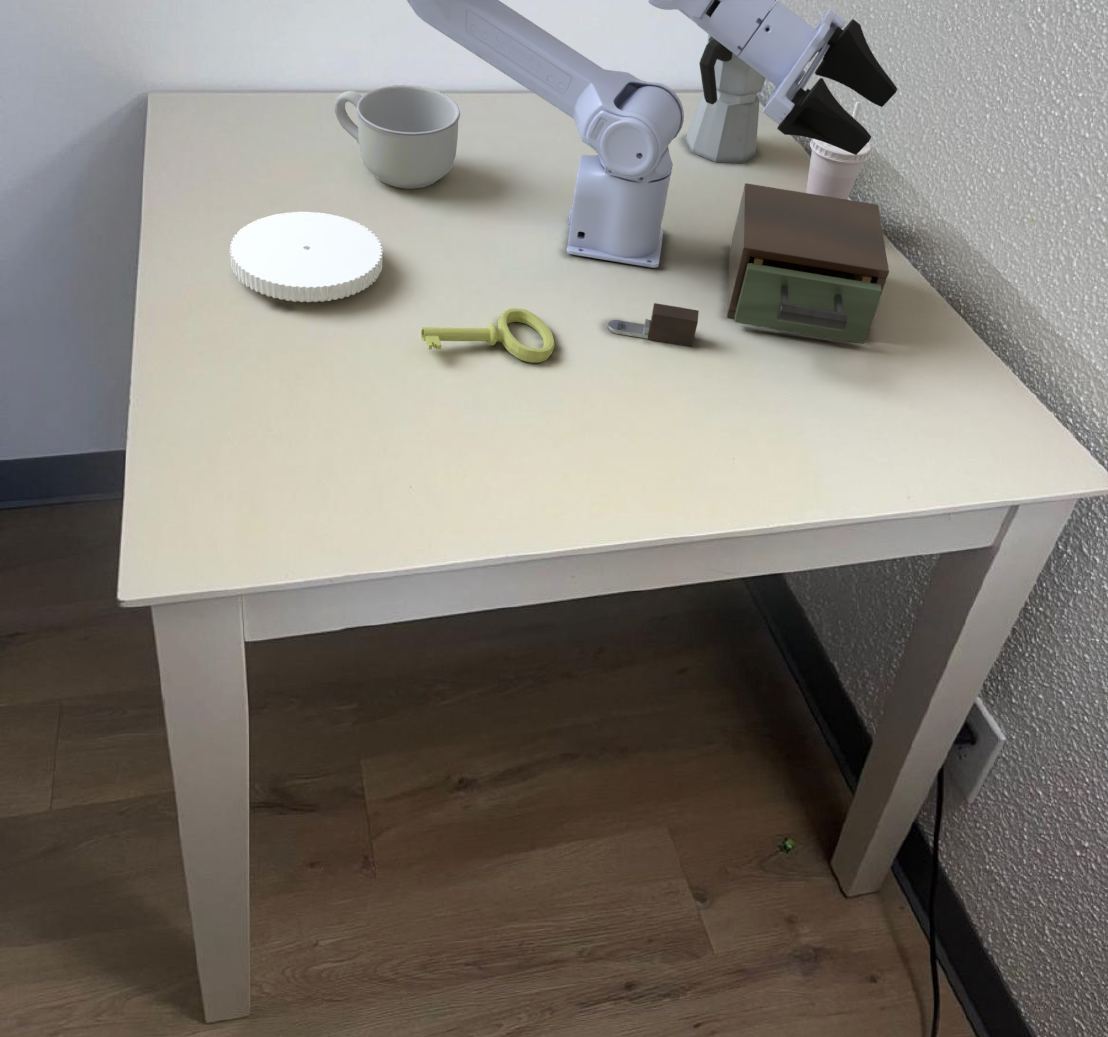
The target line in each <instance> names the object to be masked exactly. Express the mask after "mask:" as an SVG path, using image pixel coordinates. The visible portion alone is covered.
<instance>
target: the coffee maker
mask: <svg viewBox="0 0 1108 1037" xmlns="http://www.w3.org/2000/svg"><path fill="white" fill-rule="evenodd" d="M744 47H745V46H744ZM744 47H743V48H744ZM743 48H742V50H743ZM742 50H741V51H742ZM741 51H740V52H741ZM739 54H740V53H739ZM739 54H738V55H739ZM738 55H737V56H736V55H735V54H734V53H732V52H731V51H730V50H728V49H727V48H726V47H725V46H723V45H722V44H721V43H719V42H718V41H717V40H716V39H714V38H713V37H712V36H710V35H709V34H708V33H707V44H706V45H705V47H704V50H703V52H702V55H701V58H700V60H699V63H698V64H699V70H700V77H701V84H702V93H701V95H700V97H699V101H698V104H697V105H696V106H697V107H696V109H695V112H694V114H693V118H692V120H691V123H690V125H689V127H688V128H689V129H688V132H687V133H686V137H685V139H684V141H685V143H686V145H687V146H688V149H689V151H690V153H692V154H694V155H696V156H698V157H702V158H704V159H706V160H709V161H712V162H714V163H726V164H727V163H728V164H729V163H730V164H744V163H745V162H747V161H748V160H750V159H751V158H753V157H754V156H756V154H757V144H758V142H757V140H758V128H759V114H760V98H759V95H758V94H759V93H761V92H762V90H763V87H764V84H765V82H766V80H767V79H766V78H765V77H763V76H762V75H761V74H759V73H758V72H757V71H756V70H754V69H753V68H752V67H750V66H749V65H748V64H746V63H745V62H744V61H743V60H741V59H740V58H739V57H738Z"/></svg>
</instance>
